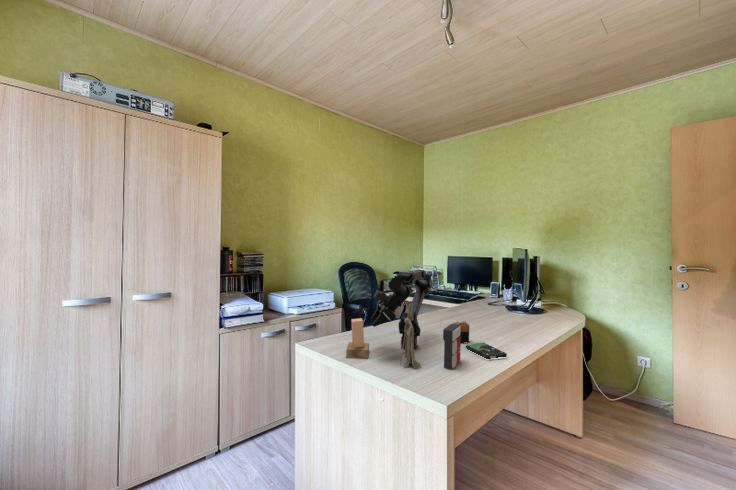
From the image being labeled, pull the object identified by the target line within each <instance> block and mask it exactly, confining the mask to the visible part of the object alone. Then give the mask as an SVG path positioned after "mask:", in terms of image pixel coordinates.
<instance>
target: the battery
mask: <svg viewBox="0 0 736 490" xmlns="http://www.w3.org/2000/svg"><path fill="white" fill-rule="evenodd" d="M452 324H458V325H460V327H461V329H460V336H461V344H465V343H464V342H470V324H469V323H467V321H464V320H463V321H461V322H459V321H456V322H453V323H452Z"/></svg>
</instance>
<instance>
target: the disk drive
mask: <svg viewBox="0 0 736 490" xmlns="http://www.w3.org/2000/svg"><path fill="white" fill-rule="evenodd" d="M466 348H467V349H468V350H470V351H472V352H474V353H476V354H478V355H480V356H482V357H484V358H486V359H491V358H498V357H507V356H508V355H507V353H506V352H505V351H502V350H501V349H499V348H496V347H495V346H492V345H489V344H488V343H485V342H476V343H471V344H469V343H466V345H465V349H466ZM468 350H467V351H468ZM470 351H469V352H470ZM472 352H471V353H472ZM474 353H473V354H474ZM476 354H475V355H476Z"/></svg>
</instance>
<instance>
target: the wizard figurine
mask: <svg viewBox="0 0 736 490" xmlns="http://www.w3.org/2000/svg"><path fill="white" fill-rule="evenodd" d="M408 305H409V306H408V311H407V313H408V317H410V318H411V320H410V319H409V318H408V317H407V318H406V319H405V320H404V321H405V324H406V325H405V329H404V332H405V335H404V342H405V336H406V344H405V349H403V348H404V342H403V348H401V349H402V350H401V354H400V355H401V356H400V360H399V361H400V362H399V365H400V366H401V363H402V360H403V353H404V359H405V361H407V362H406V365H405V366H403V368H404V369H407V368H410V364H412V367H413V369H414V370H417V369H420V368H422V365H421V363H420V362H419V361H417V360H416V359H415V357H416V356H415V350H414V330H413V326H412V323H411V321H412V320H413V305H412V300H409V304H408ZM410 305H411V306H410ZM409 312H410V313H409Z"/></svg>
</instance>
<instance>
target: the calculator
mask: <svg viewBox="0 0 736 490" xmlns="http://www.w3.org/2000/svg"><path fill="white" fill-rule="evenodd" d="M460 329H461V327H460V325H458V324H453V323H450V324H449V325H447V326H446V327H445V328H443V329H442V340H443V341H444V350H443V351H444V352H443V355H444V356H443V368H444V369H447V370H453V369H454V368H455V367H456V366H457V365H458V363H460V361H461V346H462V345H461V344H462V343H461V336H460Z"/></svg>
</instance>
